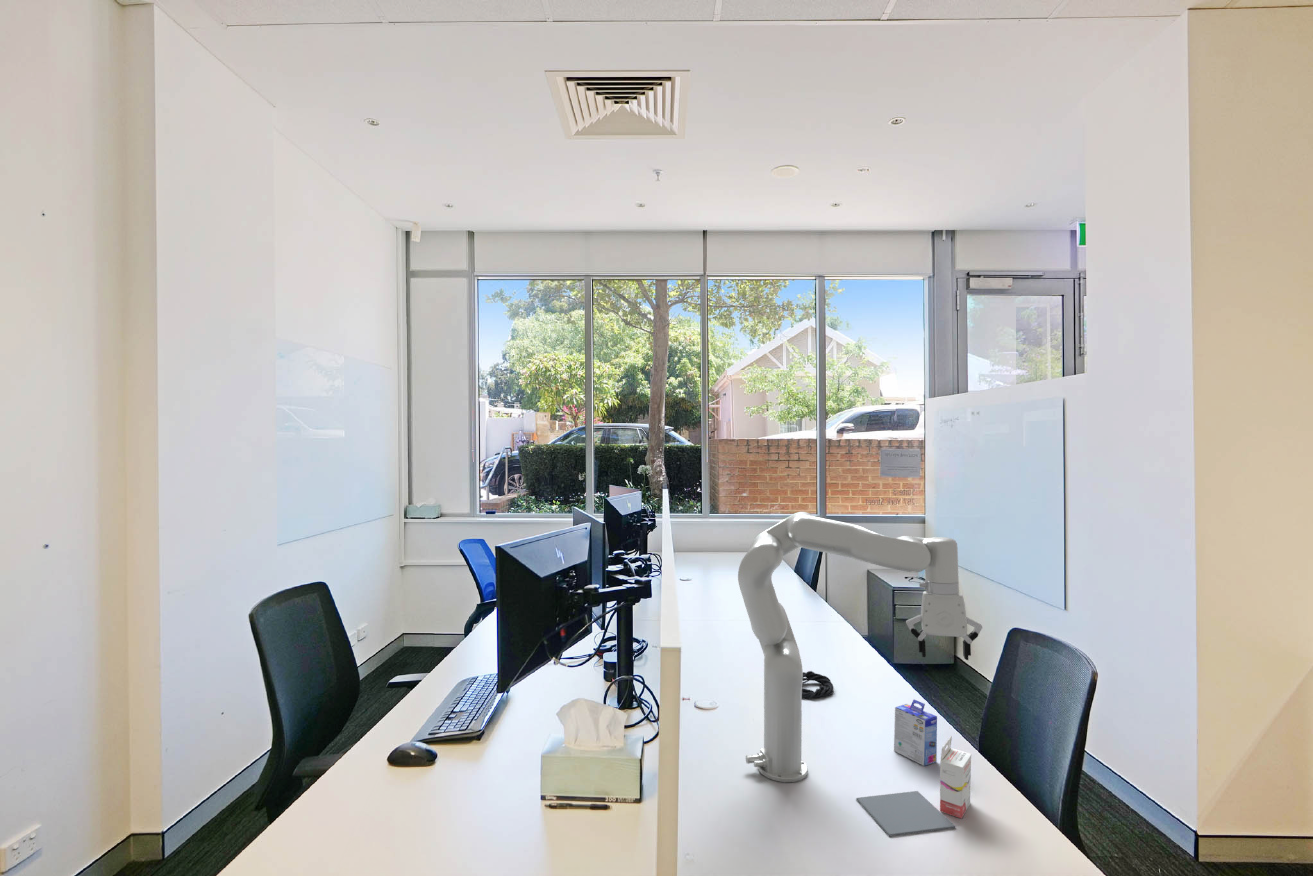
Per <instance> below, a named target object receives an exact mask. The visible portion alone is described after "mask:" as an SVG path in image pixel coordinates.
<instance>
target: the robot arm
mask: <svg viewBox="0 0 1313 876" xmlns="http://www.w3.org/2000/svg"><path fill="white" fill-rule="evenodd" d="M798 548H802V549H806V550H811V551H815V552H821V553H827V554H831V555H836V556H840V557H841V556H842V557H845V558H849V559H852V560H855V561H860V562H864V563H867V564H868V563H869V564H872V565H876V566H879V567H882V568H887V569H892V570H897V571H903V572H907V573H921V572H923V571H924V573H925V574H924V575H925V576H924V577H925V579H924V581H921V582H919V583H918V584H919V586H918V587H919V588H922V589H924V591H923V592H922V595H921V596H922V598H921V605H920V606H921V607H920V614H918V615H915V616H914V617H912V618H909V619H907V620H906V621H905V624H906V625H907V628H908V629H909V631H910V633H911V634H912V635H913V636H914V637H915V638H916V639H917V640H918V641H917V642H918V644H917V645H918V652H919V653H921V657H922V658H926V657H927V653H926V649H927V648H926V640H925V638H926V637H927V636H928V635H929V636H940V637H957V638H959V637H961V638H962V639H963V640H962V652H963V653H962V655H963V659H965V660H966V661H969V657H970V656H972V651H971V650H972V649H971V648H972V647H971V645H972V643H973V641H975V640H976V639H977V638H978V637H979V635H980V633H981V631H982V629H983V625H982V624H981V623H979V622H978V621H975V620H973V619H971V618H970V617H968V616H967V612H966V611H967V610H966V606H965V605H966V604H965V600H964V599H965V598H964V595H963V594H962V593H961V592H960V587H959V586H960V584H959V583H960V582H959V555H958V553H959V552H958V543H957V541H956V540H955V539H954V538H951V537H945V536H931V537H921V536H920V537H918V536H911V535H901V536H898V537H892V536H889V535H884V534H880V533H877V532H874V531H871V530H869V529H867V528H866V527H863V526H862V525H861V526H860V525H857V524H855V523H849V522H843V521H838V520H835V519H828V518H823V517H819V516H815V515H813V514H811V513H810V512H806V511H798V512H795V513H793V514H791V515H789V516H788V517H786V518H784V519H782V520H781V521H779V522H778V523H776V524H774V525H773V526H771V527H770V528H767V529H766V530H764V531H762V532H761V533H759V534H758V535H757V536H755V537H754V538H753V540H752V541H751V544H750V549H748V551H747V552H746V554H745V555H744V556H743V557H742V559H741V561H740V564H739V567H738V572H737V580H738V586H739V589H740V592H741V595H742V596H741V597H742V599H743V603H744V605H745V608H746V612H747V616H748V619H749V622H750V626H751V630H752V633H753V634H754V636H755V637H756V639H757V640H758V642H759V644H760V645H759V646H760V648H761V650H762V653H763V748H760V750H759V751H760V752H757V754H747V755H745V763H746V764H747V765H749V764H753V767H754V768H757V769H758V772H760V774H761V775H763V776H764V777H766V778H768V779H770V780H772V781H775V782H779V783H780V782H781V783H794V782H798V781H801V780H803V779H804V778H806V777H807V776H808V770H809V769H808V766H807V764H806V762H805V761H804V760H802V739H803V738H802V737H803V736H802V735H803V734H802V733H803V731H802V730H803V729H802V727H803V726H802V723H803V721H802V720H803V719H802V718H803V717H802V716H803V714H802V712H803V711H802V708H803V707H802V701H803V697H802V688H803V684H802V682H803V681H802V680H803V664H802V663H803V661H802V659H801V658H802V657H801V654H800V650H799V647H798V644H797V641H796V638H795V635H794V632H793V630H792V627H791V623H790V620H789V618H788V614H787V611H786V609H785V607H784V606H783V605H782V604H781V603H780V602H779V600H778V597H777V592H776V590H775V587H774V584H773V581H772V576H773V574H774V572H775V571H776V569H778V568H779V566H780V565H781V563H782V561H783V559H784V557H785V556H787V555H788V554H790V553H792V552H793V551H795V550H796V549H798ZM917 623H920V624H921V629H920V630H917V629H916V628H915V626H914V625H915V624H917ZM968 625H969V626H971V627H973V630H972V631H971V632H970V633H968Z"/></svg>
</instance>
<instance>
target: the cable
mask: <svg viewBox="0 0 1313 876" xmlns="http://www.w3.org/2000/svg"><path fill="white" fill-rule="evenodd" d="M809 681H810V682H811V681H813V682H817V683H819V684H821V685H820V686H819V687H818V688H816V690H815V691H814V690H812V689H808V688H805V687H802V699H805V700H809V699H816V698H820V697H828V696H830V695H832V694H833V692H834V685H833V683H832V681H831V679H830V678H829V677H828V676H826V675H822V674H820V673H816V672H814V671H812V670H809V671H807V672H803V680H802V685H803V684H806V683H808V682H809Z"/></svg>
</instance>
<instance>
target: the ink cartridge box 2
mask: <svg viewBox="0 0 1313 876" xmlns="http://www.w3.org/2000/svg"><path fill="white" fill-rule="evenodd" d="M952 739H953V738H952V736H951V735H950V737H949V738H948V739H947V740H946V742H945V743H944V744H943V746H942V747H941V754H940V764H939V765H940V770H939V771H940V774H939V784H940V785H939V786H940V787H939V811H940V812H941V813H944V814H947V815H950V816H953V817H956V818H959V819H962V818H963V817H964V815H965V814H966V812H967V809H969V806H970V804H971V783H972V782H971V778H972V777H971V776H972V775H971V774H972V753H971V752H966V751H963V750H959V749H956V748H952V747H951V746H952Z"/></svg>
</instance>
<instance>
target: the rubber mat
mask: <svg viewBox="0 0 1313 876" xmlns="http://www.w3.org/2000/svg"><path fill="white" fill-rule="evenodd" d="M855 799H856V802H857V803H858V804H859V805H860V806H861V807H862V808H863V809H864V810H865V811H866V813H867V814H868V815H869V816H870V817H871V818H872V819H873V820H874V821H875V823H876V824H877V825H878V826H879V827H880V828H881V829H882V831H883V832H885V833H886V835H887V836H888V837H897V836H906V835H914V834H919V833H920V834H921V833H928V832H937V831H942V830H943V831H944V830H951V829H956V824H954V823H953V822H952V821H951V820H950V819H948V817H946V816H945V815H944V814H943V812H941V811H940V809H938V808H937V807H935V806H934V805H933V803H931V802H930V801H929V800H928V799H927V798H926V797H925V796H923V795H922V794H921V793H920V792H919V791H918V790H916V791H915V790H914V791H907V792H905V791H904V792H896V793H889V794H888V793H887V794H878V795H872V796H871V795H869V796H862V797H856V798H855Z"/></svg>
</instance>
